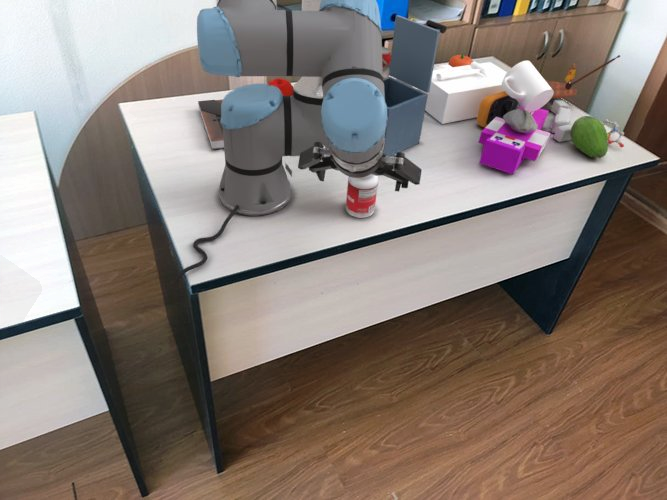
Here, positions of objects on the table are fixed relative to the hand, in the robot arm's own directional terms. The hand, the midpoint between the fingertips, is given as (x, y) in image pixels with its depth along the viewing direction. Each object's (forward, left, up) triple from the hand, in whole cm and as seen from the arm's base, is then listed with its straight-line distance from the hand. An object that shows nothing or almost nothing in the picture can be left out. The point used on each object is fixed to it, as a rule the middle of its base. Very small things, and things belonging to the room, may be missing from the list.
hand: (360, 178), depth 96 cm
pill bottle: (+10, +3, -15) cm, 18 cm away
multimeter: (+69, -14, -10) cm, 71 cm away
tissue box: (+71, -4, -15) cm, 73 cm away
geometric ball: (+83, +6, -9) cm, 83 cm away
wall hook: (+72, +13, -17) cm, 75 cm away
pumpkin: (+92, +2, -15) cm, 93 cm away
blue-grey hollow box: (+40, +9, -15) cm, 44 cm away
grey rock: (+51, -22, -8) cm, 56 cm away
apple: (+44, +41, -15) cm, 62 cm away
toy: (+70, -24, -13) cm, 75 cm away
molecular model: (+74, -47, -12) cm, 88 cm away
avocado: (+66, -35, -8) cm, 75 cm away
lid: (+46, +6, +6) cm, 47 cm away
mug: (+61, -23, -5) cm, 66 cm away
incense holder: (+90, -27, -12) cm, 95 cm away
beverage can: (+68, +22, -15) cm, 73 cm away
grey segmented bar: (+73, -28, -13) cm, 79 cm away
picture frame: (+28, +45, -15) cm, 55 cm away
